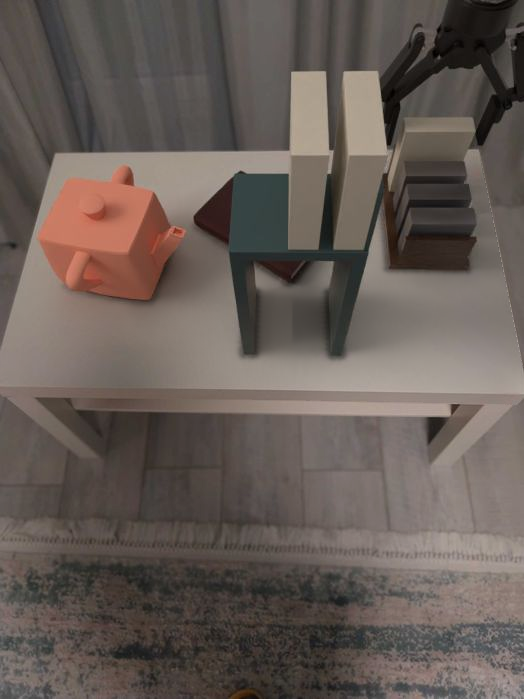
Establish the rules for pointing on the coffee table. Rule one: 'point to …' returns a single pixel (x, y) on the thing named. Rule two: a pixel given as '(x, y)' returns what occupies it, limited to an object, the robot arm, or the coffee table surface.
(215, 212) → the book
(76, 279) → the teapot
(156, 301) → the coffee table surface
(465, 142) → the beige rectangular block
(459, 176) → the brown rack
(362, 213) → the teal stand with panels
